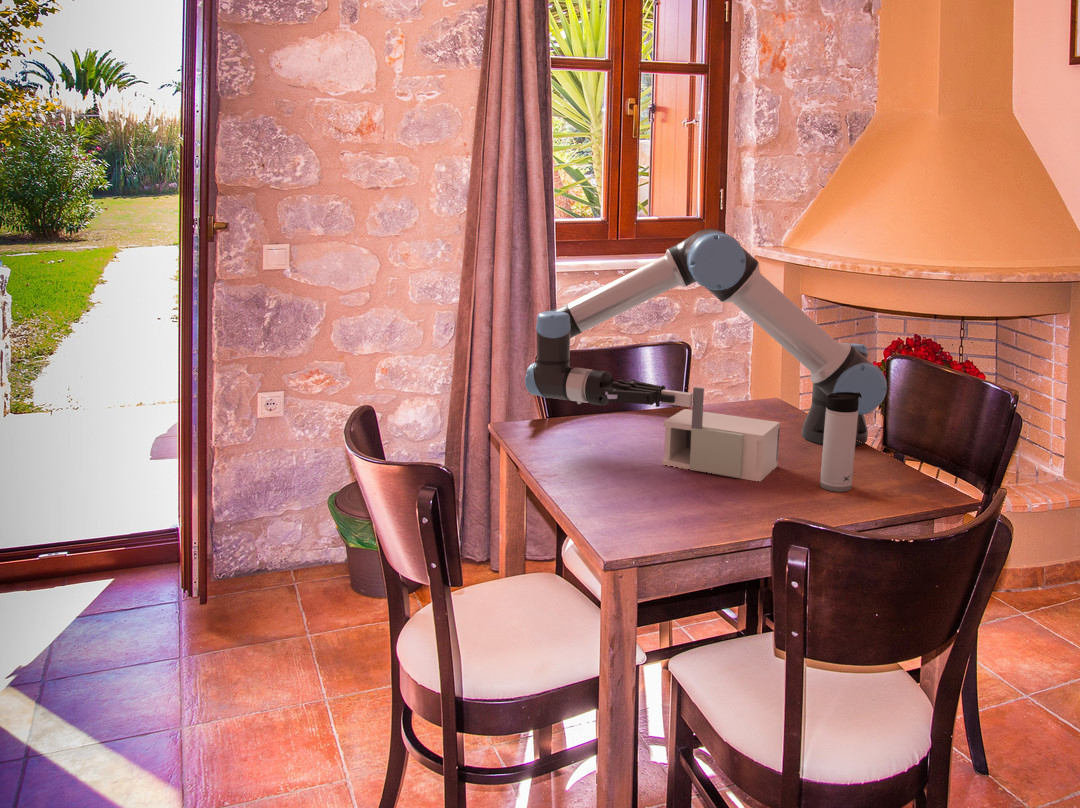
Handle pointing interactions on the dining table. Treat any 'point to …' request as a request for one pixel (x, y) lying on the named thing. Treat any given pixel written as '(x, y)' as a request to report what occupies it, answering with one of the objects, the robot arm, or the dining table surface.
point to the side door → (713, 444)
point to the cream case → (757, 433)
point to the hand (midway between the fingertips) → (690, 400)
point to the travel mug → (839, 441)
